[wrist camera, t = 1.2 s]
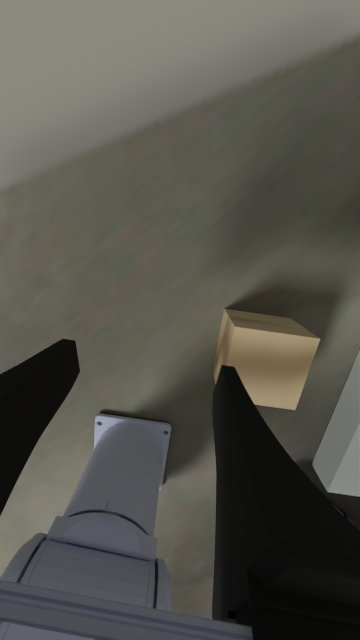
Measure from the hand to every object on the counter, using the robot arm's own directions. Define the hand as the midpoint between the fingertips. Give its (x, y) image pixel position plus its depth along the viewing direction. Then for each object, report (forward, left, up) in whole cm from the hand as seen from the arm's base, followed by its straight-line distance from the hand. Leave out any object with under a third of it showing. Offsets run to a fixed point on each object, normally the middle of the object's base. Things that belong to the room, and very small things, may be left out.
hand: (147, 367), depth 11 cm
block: (-2, -8, -10) cm, 13 cm away
